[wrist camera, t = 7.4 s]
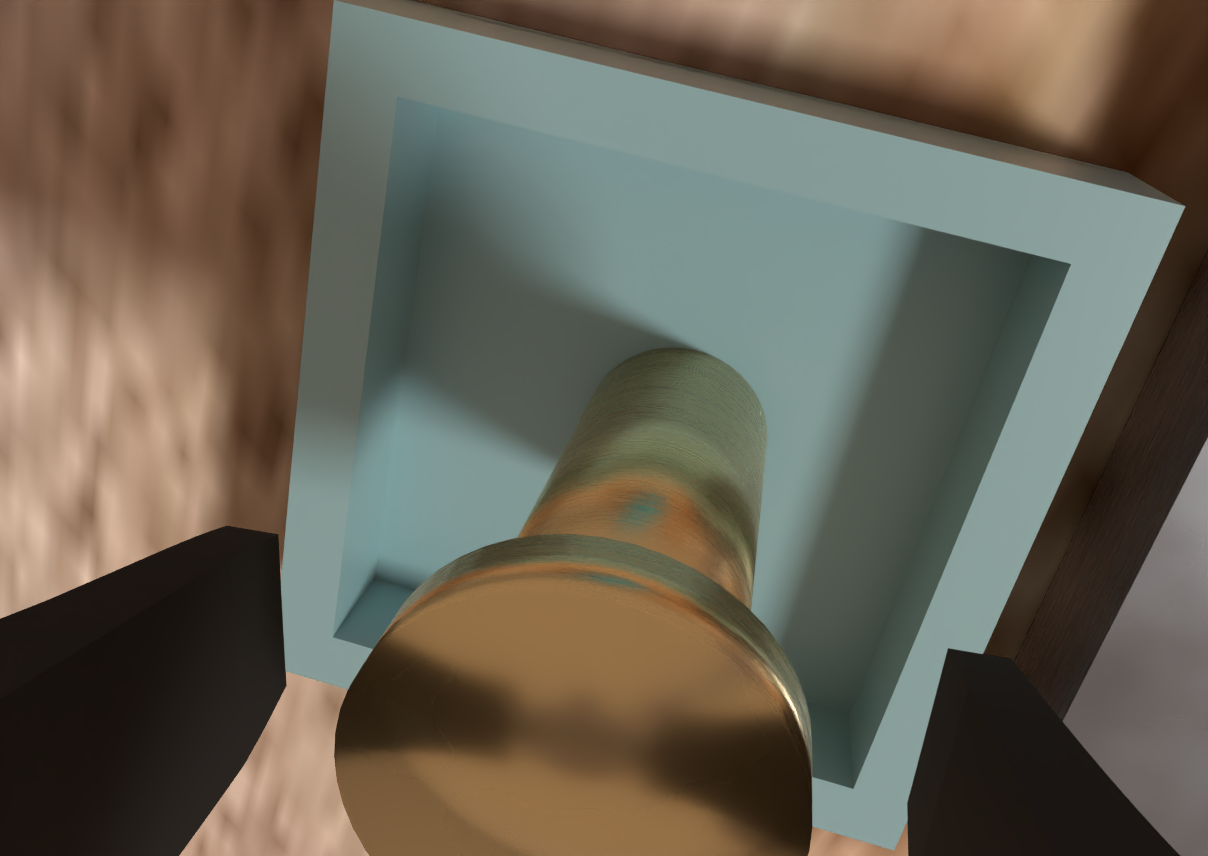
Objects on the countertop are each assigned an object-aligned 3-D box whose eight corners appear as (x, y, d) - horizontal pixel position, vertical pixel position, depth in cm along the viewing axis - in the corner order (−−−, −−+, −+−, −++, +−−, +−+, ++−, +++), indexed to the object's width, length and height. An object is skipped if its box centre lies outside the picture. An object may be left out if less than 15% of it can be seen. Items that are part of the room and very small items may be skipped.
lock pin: (869, 415, 16) (921, 797, 9) (702, 596, 18) (623, 1044, 10) (644, 249, 16) (489, 494, 8) (497, 451, 18) (258, 806, 10)
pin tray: (1127, 172, 15) (1185, 206, 13) (883, 750, 20) (893, 850, 17) (401, -3, 16) (333, 0, 13) (332, 591, 20) (273, 667, 18)
